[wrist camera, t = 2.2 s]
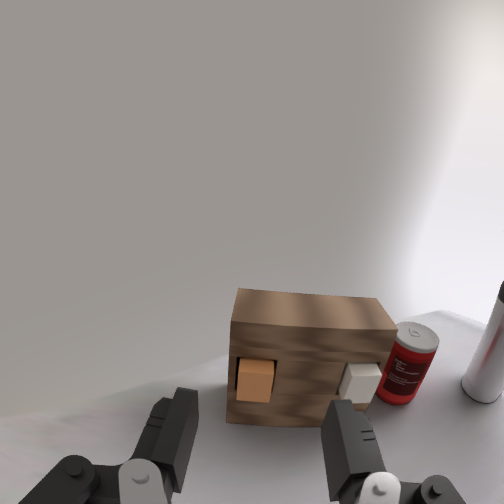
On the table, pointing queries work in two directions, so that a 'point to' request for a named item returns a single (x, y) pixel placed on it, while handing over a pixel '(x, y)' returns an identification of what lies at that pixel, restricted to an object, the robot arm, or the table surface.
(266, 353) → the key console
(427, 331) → the canned food
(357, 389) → the white key
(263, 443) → the table surface
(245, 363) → the orange key
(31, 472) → the table surface
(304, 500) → the table surface
